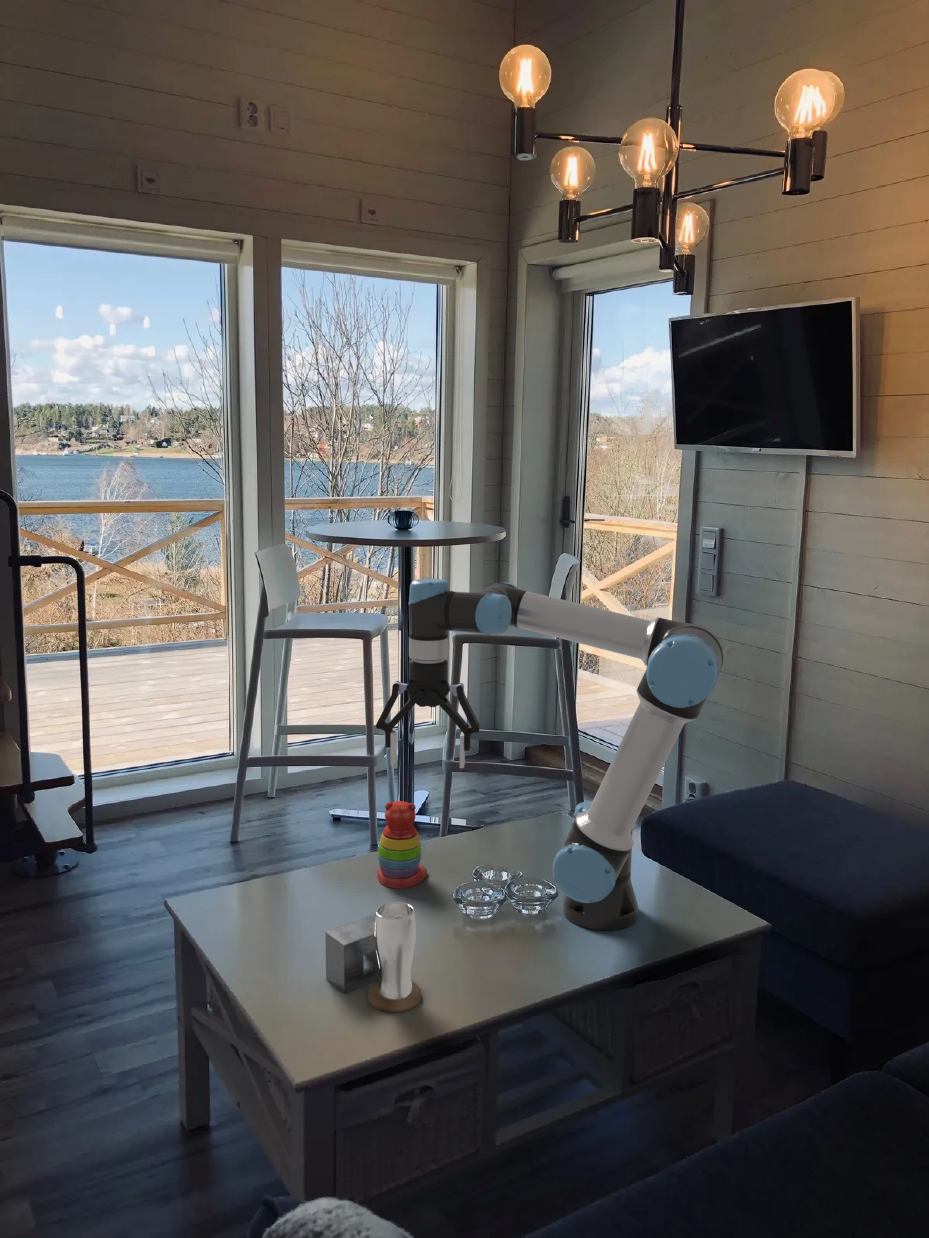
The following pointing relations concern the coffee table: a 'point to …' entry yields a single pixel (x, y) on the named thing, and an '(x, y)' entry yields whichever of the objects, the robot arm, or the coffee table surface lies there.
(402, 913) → the beer glass
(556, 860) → the robot arm
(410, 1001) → the walnut coaster
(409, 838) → the stacking bear
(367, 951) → the grey block with hole
